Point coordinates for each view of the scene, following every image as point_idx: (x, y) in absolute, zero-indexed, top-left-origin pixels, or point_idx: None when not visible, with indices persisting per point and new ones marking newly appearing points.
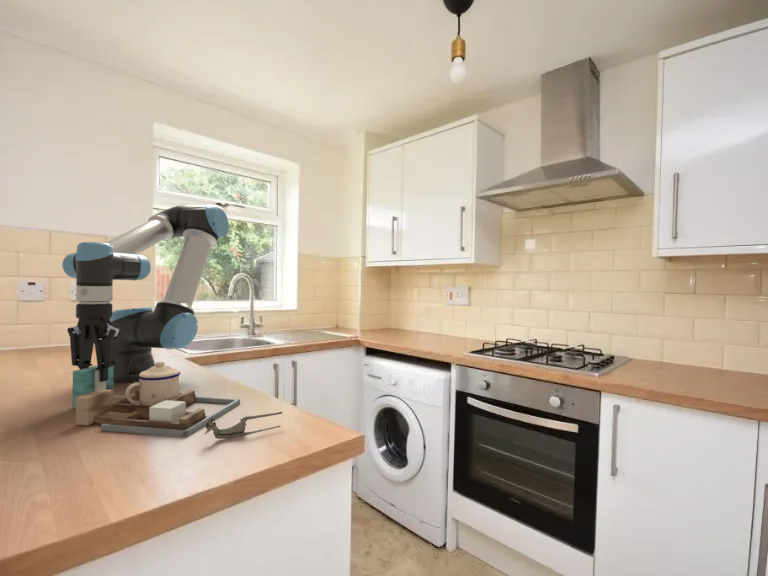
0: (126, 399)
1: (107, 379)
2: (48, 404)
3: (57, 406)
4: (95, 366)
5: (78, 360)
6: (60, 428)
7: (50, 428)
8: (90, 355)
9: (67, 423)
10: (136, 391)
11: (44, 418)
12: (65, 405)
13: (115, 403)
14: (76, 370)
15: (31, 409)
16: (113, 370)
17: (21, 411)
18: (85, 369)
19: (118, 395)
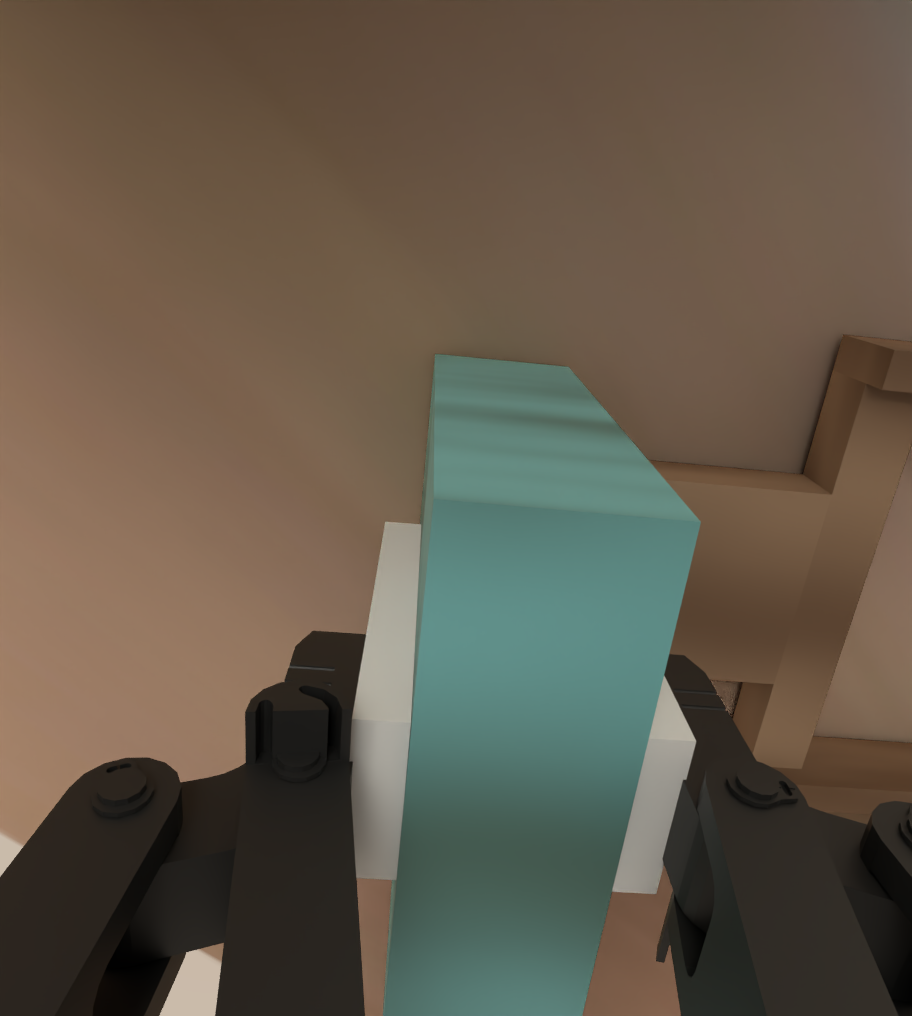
0: (858, 575)
1: (692, 667)
2: (80, 614)
3: (222, 654)
4: (467, 745)
5: (129, 925)
6: (651, 996)
7: (589, 1001)
8: (354, 985)
9: (630, 935)
10: (898, 389)
11: (391, 882)
12: (267, 623)
13: (884, 795)
14: (391, 1004)
15: (82, 740)
16: (657, 473)
17: (57, 785)
18: (478, 944)
19: (719, 492)
